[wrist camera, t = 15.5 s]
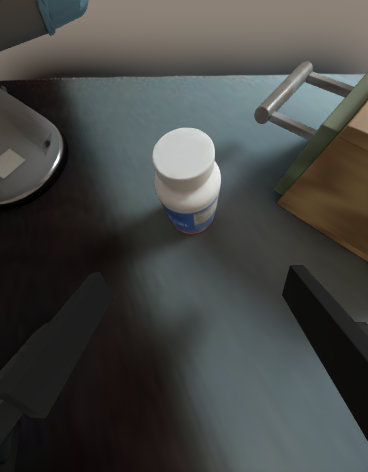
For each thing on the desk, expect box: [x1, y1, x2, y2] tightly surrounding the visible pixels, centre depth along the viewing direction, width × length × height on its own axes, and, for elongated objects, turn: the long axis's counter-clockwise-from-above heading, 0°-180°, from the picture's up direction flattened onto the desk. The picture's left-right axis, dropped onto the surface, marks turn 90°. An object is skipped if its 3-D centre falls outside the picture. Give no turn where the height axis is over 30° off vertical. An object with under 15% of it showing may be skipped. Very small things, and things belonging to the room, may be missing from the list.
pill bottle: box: [152, 128, 221, 234], centre depth 15 cm, size 6×5×10 cm
